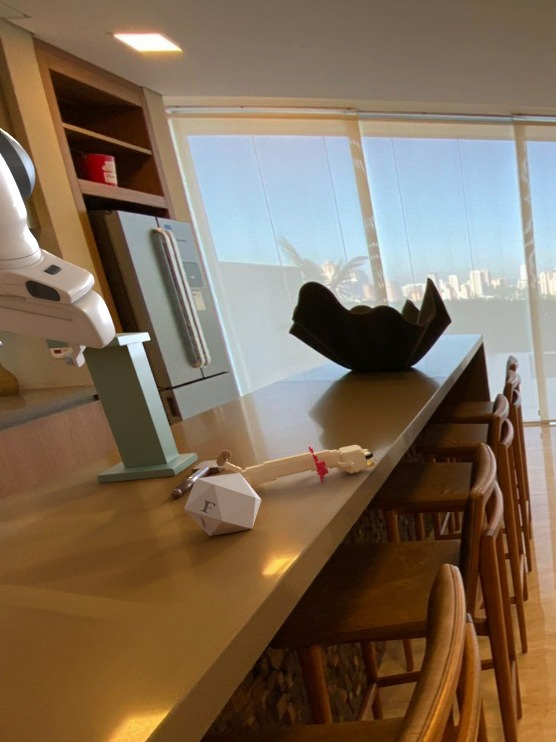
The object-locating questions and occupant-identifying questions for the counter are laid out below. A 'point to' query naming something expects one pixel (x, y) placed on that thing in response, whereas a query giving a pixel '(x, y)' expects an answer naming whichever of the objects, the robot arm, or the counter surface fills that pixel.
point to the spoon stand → (132, 410)
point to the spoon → (196, 476)
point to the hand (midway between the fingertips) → (35, 356)
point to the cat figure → (301, 464)
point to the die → (223, 504)
